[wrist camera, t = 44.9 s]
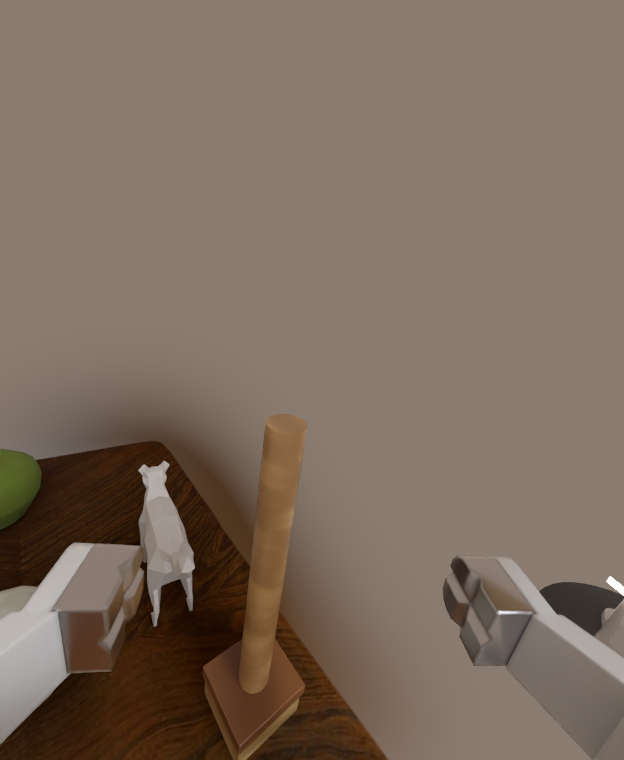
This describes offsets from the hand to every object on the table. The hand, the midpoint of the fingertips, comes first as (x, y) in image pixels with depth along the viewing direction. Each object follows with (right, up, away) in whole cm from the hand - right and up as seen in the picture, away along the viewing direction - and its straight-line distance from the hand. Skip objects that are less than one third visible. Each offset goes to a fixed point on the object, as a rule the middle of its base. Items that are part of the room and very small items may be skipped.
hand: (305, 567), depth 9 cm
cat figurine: (-17, -19, +30) cm, 39 cm away
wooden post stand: (-5, -24, +21) cm, 32 cm away
